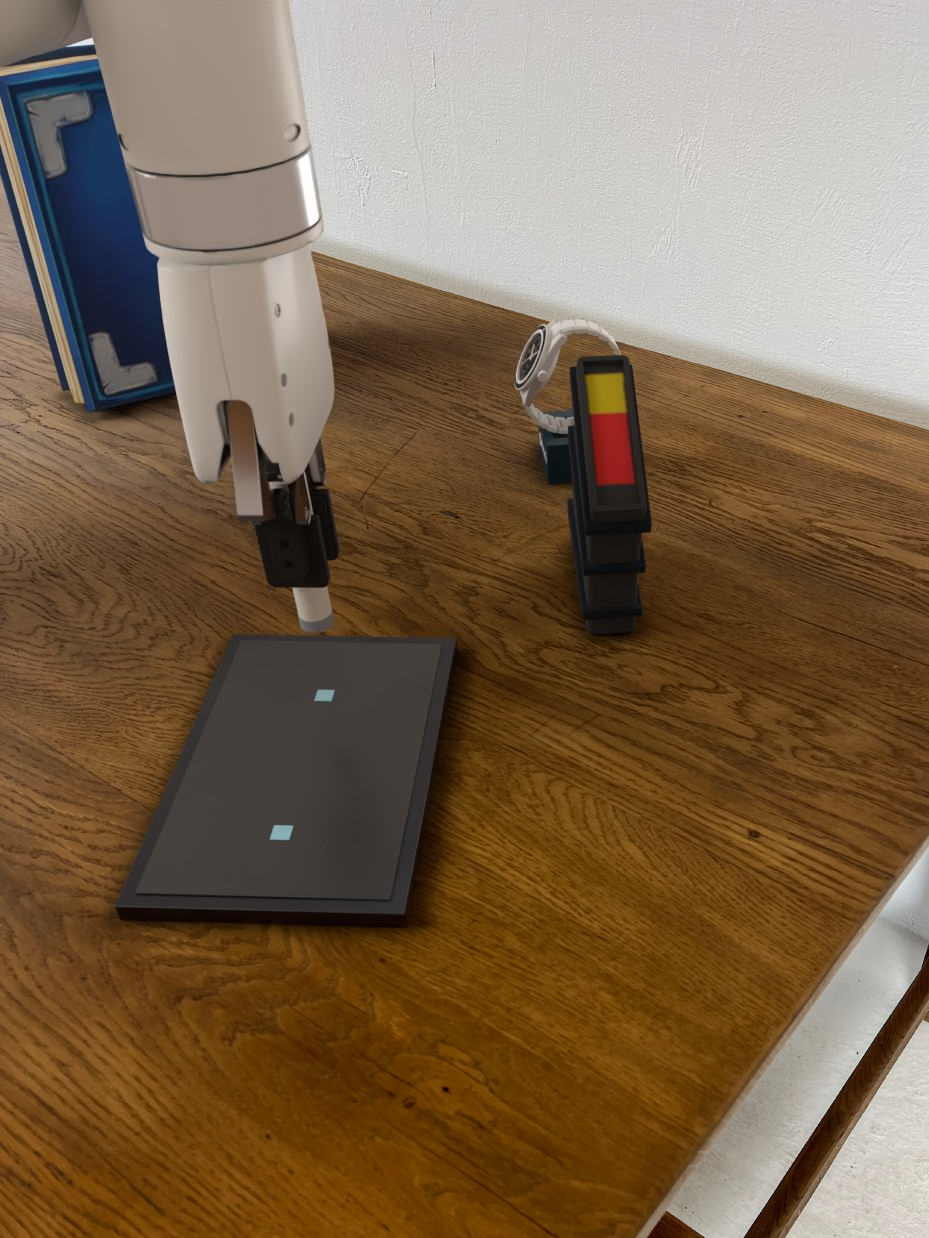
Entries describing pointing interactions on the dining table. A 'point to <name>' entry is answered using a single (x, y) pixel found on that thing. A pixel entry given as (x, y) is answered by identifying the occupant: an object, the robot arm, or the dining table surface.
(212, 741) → the tablet
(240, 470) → the robot arm
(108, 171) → the book
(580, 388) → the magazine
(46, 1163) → the dining table surface
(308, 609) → the stylus
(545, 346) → the watch
